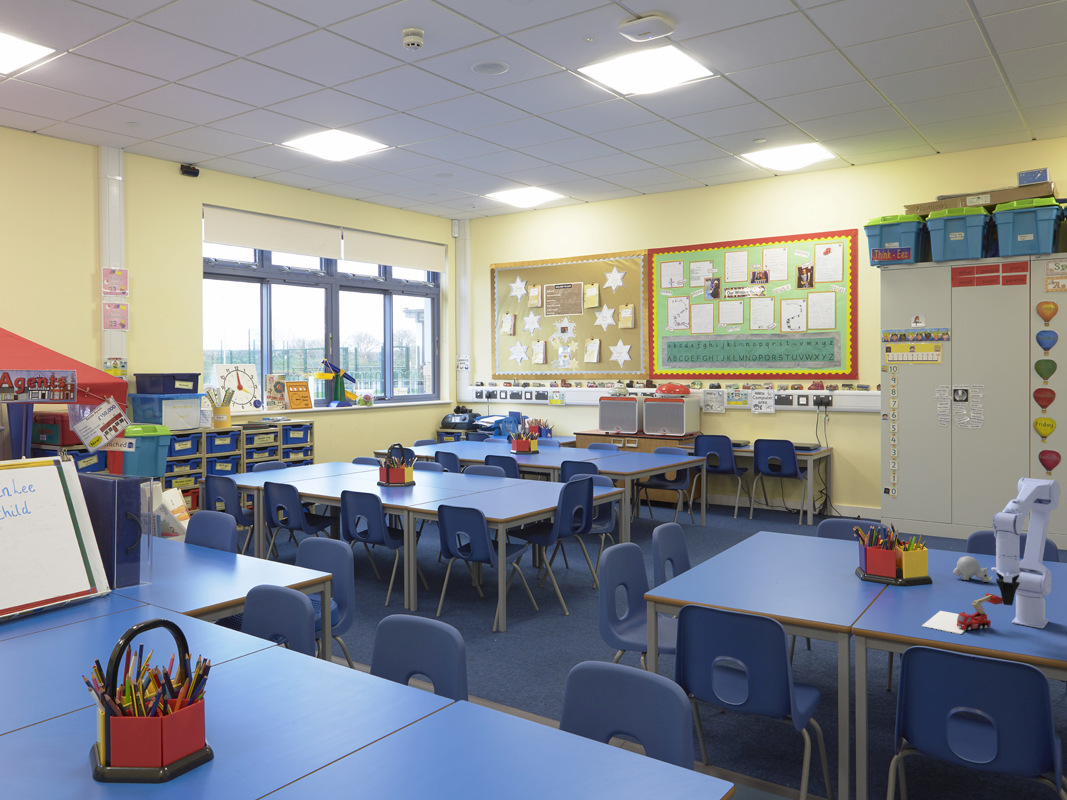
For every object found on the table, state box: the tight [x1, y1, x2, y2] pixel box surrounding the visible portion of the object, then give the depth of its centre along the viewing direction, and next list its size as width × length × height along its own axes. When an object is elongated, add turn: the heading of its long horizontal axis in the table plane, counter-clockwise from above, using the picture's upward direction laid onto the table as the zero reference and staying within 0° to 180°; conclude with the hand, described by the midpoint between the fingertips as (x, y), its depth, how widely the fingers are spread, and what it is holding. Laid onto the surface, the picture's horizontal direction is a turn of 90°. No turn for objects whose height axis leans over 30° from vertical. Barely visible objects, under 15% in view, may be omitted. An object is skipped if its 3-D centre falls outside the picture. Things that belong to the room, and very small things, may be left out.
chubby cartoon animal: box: [952, 555, 993, 583], centre depth 273 cm, size 7×12×8 cm, turn 42°
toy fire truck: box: [957, 593, 1003, 631], centre depth 223 cm, size 3×14×10 cm, turn 105°
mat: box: [921, 610, 966, 635], centre depth 228 cm, size 19×11×1 cm, turn 136°
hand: (1007, 601), depth 216 cm, fingers open, 7 cm apart
